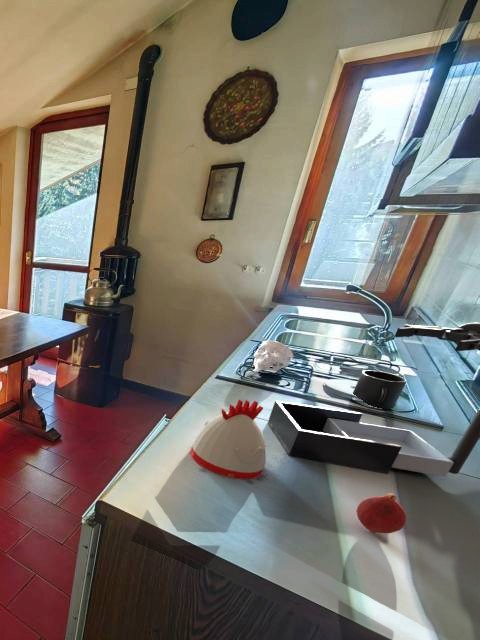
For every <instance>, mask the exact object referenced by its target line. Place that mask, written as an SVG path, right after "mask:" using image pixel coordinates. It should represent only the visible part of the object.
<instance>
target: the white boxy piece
mask: <svg viewBox="0 0 480 640" xmlns="http://www.w3.org/2000/svg"><path fill="white" fill-rule="evenodd" d="M323 431H324V432H325V433H326V434H332V435H338V436H345V437H351V438H357V439H363V440H369V441H376V442H382V443H388V444H394V445H400V446H401V447H402V448H401V450H400V452H399V454H398V455H397V457H396V459H395V461H394V463H393V465H392V467H391V468H392V469H393V468H394V469H399V470H405V471H410V472H417V473H420V474H421V473H422V474H428V475H432V476H437V477H438V476H439V477H447V475H448V473H450V474H453V475H458V474H459V473H460V471H461V470H462V468H463V466H464V465H465V463H466V461H467V460H468V458H469V457H470V454H471V453H472V451H473V450H474V448H475V447H476V445H477V443H478V442H479V440H480V408H479V409H477V411H476V413H475V415H474V417H473V418H472V419H471V421H470V423H469V425H468V427H467V428H466V429H465V432H464V433H463V435H462V437H461V438H460V440H459V442H458V444H457V445H456V447H455V449H454V450H453V452H452V455H451V456H450V457H448V456H446V455H444V453H442V452H440V451H439V450H438V449H437V448H435V447H434V446H433V445H431V444H430V443H429V442H427V441H426V440H425V439H424V438H422V437H420V436H419V435H418V434H416V433H415V432H414V431H413V430H411V429H404V428H398V427H392V426H385V425H378V424H372V423H371V424H370V423H364V422H359V423H358V422H352V421H345V420H338V419H332V418H328V419H327V421H326V424H325V426H324V429H323Z"/></svg>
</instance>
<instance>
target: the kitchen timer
mask: <svg viewBox="0 0 480 640" xmlns="http://www.w3.org/2000/svg"><path fill="white" fill-rule="evenodd" d="M263 410H264V407H263V406H262V405H259V402H258V401H257V400H254V401H253V402H252V403H251V405H250V401H249V400H248V399H246V400H244V403H243V400H241V399H238V401H237V403H236V405H235V406H234V405H232V404H231V403H230V404H229V410H228V412H227V411H225V409H223V408H222V409H221V414H219V415H217V416H216V417H213V419H211V420H210V421H206V422H205V423H204V425H203V427H202V428H201V430H200V431H199V433H198V434H197V435H196V436H195V438H194V440H193V442H192V446H191V448H190V456H191V458H192V459H193V460H194V461H195V462H196V463H197V464H199V465H200V466H202V467H203V468H204V469H206V470H209V471H211V472H212V473H214V474H217V475H220V476H224V477H227V478H232V479H239V480H253V479H256V478H259V477H260V476H261V475H262V474H263V472H264V469H265V467H266V461H267V457H266V456H267V455H266V444H265V438H264V435H263V432H262V430H261V428H260V427H259V425H258V424H257V423H256V421H255V419H256V418H257V417H258V416H259V415H260V414H261V412H262V411H263Z"/></svg>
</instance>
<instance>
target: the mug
mask: <svg viewBox="0 0 480 640" xmlns="http://www.w3.org/2000/svg"><path fill="white" fill-rule="evenodd" d="M407 381H408V380H407V379H406V378H405V377H402V376H400V375H397V374H393V373H390V372H386V371H379V370H369V369H368V370H362V371H361V373H360V375H359V378H358V380H357V381H356V385H355V387H354V389H353V391H352V393H353V394H354V395H356V396H357V397H358V398H359V399H361V400H363V402H365V403H367V404H368V405H371V406H373V407H377V408H382V409H391V408H393V409H394V408H395V406H396V405H397V402H398V400H399V398H400V396H401V394H402V392H403V390H404V388H405V386H406V383H407ZM361 406H362V407H364V406H363V405H361ZM391 410H392V409H391Z"/></svg>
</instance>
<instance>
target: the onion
mask: <svg viewBox="0 0 480 640" xmlns="http://www.w3.org/2000/svg"><path fill="white" fill-rule="evenodd" d="M396 499H397V496H396V495H395V494H394V493H390V492H389V493H387V494H385V495H383V496H382V495H374V496H369V497H366V498H364V499H362V500H361V501H360V503H359V504H358V505H357V507H356V511H355V512H356V515H357V519H358V521H359V522H360V524H361V525H362V526H364V528H366V529H367V530H368V531H369V532H371V533H373V534H392V533H395V532H399V531H401V530H402V529H404V527H405V525H406V522H407V514H406V511H405V509H404V507H402V505H401V504H400V503H399V502H398V501H397V500H396Z"/></svg>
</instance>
